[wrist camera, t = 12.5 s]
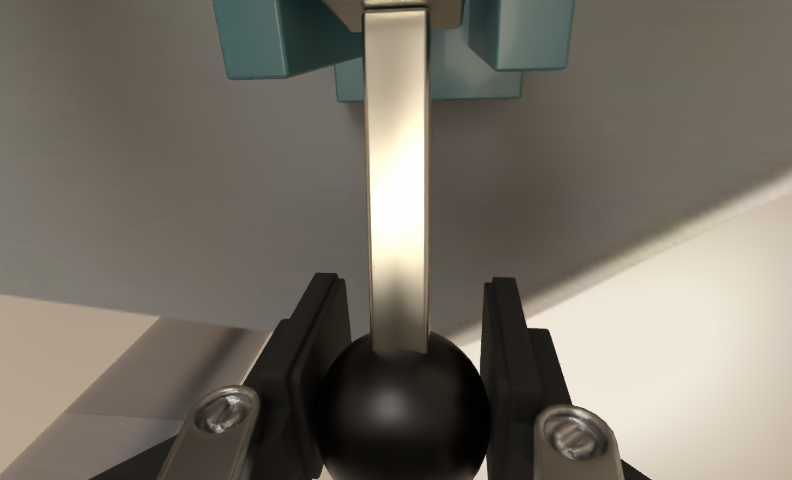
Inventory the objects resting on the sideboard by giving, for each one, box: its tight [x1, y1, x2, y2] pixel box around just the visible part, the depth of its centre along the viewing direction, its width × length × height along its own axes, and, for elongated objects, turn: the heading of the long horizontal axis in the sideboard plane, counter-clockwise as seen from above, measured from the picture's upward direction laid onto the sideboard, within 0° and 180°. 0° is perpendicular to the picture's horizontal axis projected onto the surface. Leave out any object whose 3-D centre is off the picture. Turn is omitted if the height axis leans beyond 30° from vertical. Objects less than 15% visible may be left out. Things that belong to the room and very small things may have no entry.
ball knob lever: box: [315, 0, 491, 480], centre depth 8 cm, size 12×4×4 cm, turn 2°
